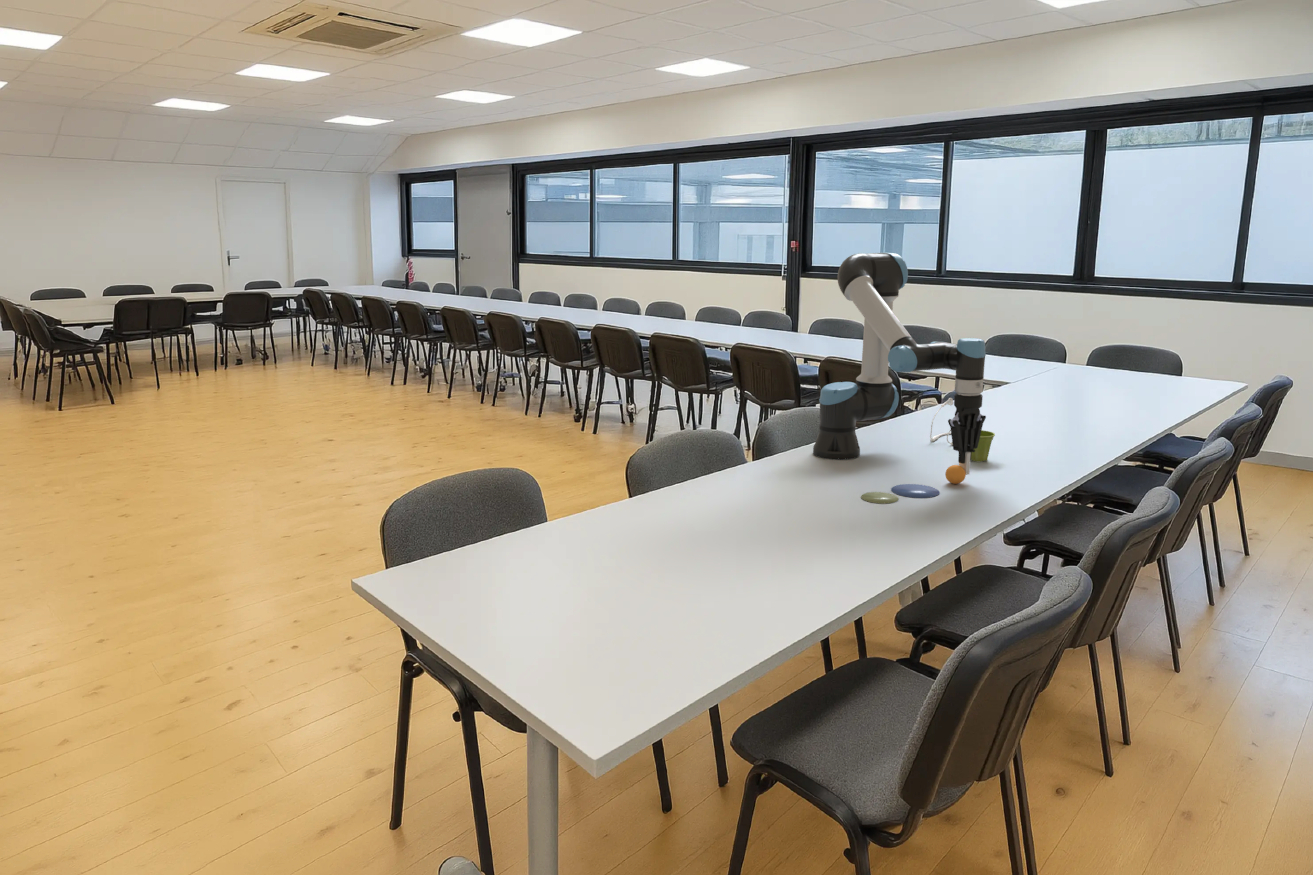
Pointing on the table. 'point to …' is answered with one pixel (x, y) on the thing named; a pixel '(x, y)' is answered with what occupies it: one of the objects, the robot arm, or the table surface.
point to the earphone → (949, 402)
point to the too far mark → (879, 497)
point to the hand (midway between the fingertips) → (963, 473)
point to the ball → (955, 474)
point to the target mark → (915, 490)
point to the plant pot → (983, 446)
